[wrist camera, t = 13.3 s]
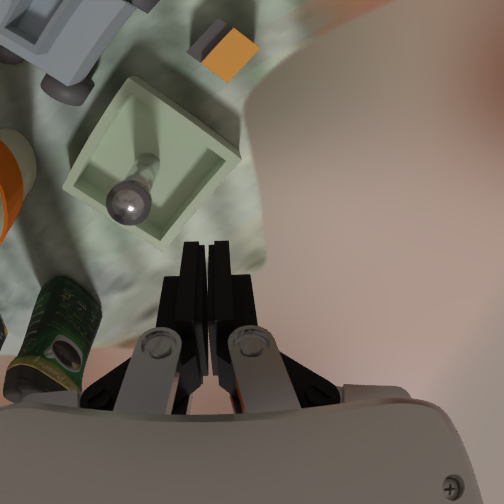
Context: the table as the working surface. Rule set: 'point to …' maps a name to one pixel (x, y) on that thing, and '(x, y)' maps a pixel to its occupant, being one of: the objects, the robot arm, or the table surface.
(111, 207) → the pin
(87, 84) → the toy car
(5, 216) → the reusable coffee cup
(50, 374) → the coffee jar
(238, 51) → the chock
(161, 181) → the tray
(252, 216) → the table surface
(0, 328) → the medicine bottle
